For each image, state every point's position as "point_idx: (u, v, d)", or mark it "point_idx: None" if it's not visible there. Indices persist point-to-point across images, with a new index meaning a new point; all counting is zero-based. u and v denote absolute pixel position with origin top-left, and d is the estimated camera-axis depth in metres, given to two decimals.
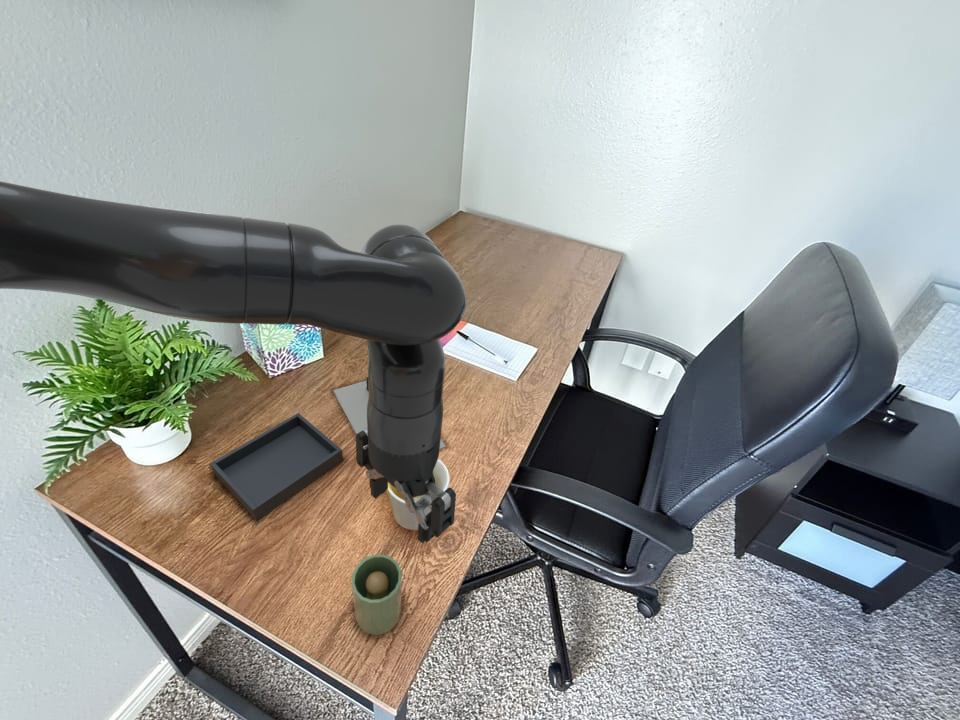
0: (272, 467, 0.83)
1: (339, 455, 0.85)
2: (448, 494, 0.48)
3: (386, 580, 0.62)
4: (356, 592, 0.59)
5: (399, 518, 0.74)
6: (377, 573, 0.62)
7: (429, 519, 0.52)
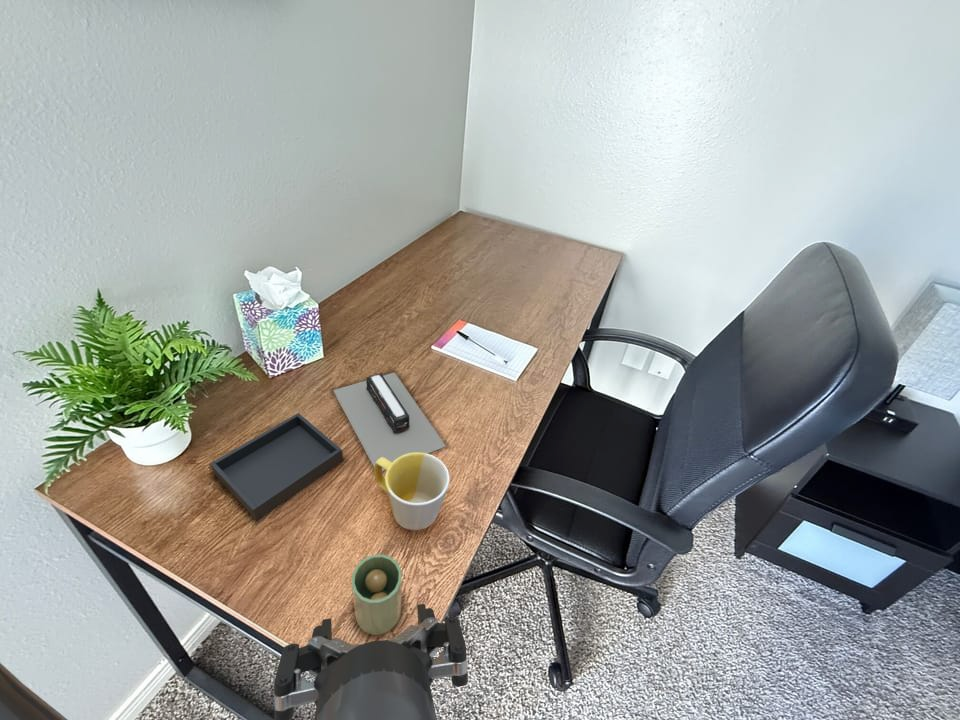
0: (272, 467, 0.83)
1: (339, 455, 0.85)
2: (278, 710, 0.32)
3: (383, 571, 0.65)
4: (356, 592, 0.59)
5: (399, 518, 0.74)
6: None
7: (311, 653, 0.37)
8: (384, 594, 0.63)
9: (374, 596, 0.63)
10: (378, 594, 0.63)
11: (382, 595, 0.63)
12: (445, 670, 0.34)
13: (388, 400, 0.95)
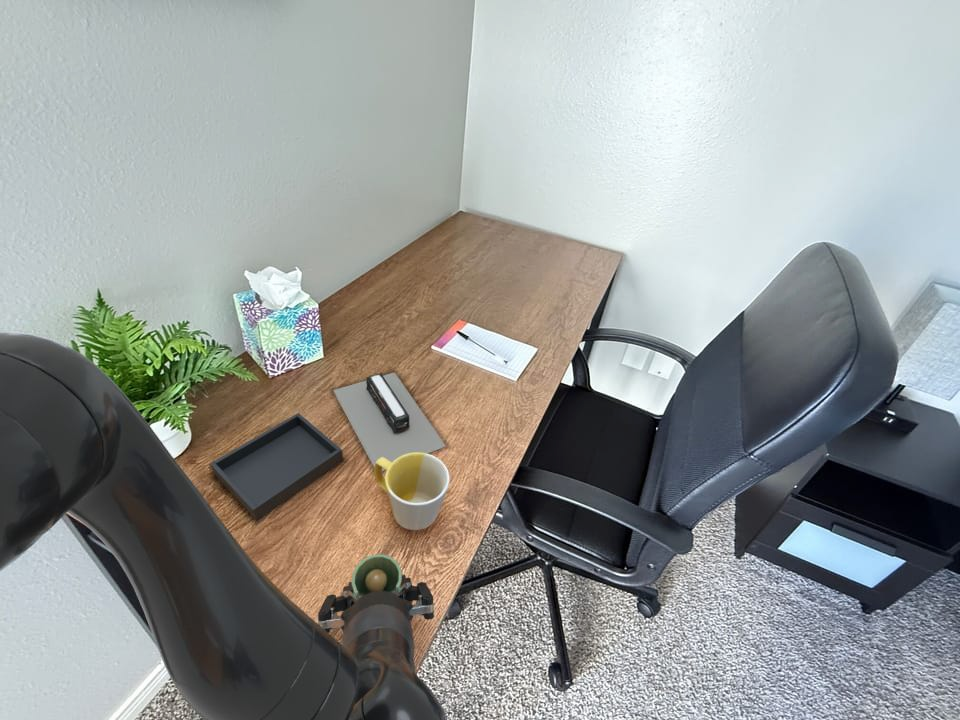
0: (272, 467, 0.83)
1: (339, 455, 0.85)
2: None
3: (383, 571, 0.65)
4: None
5: (399, 518, 0.74)
6: None
7: (343, 600, 0.60)
8: None
9: None
10: None
11: None
12: (420, 610, 0.57)
13: (388, 400, 0.95)
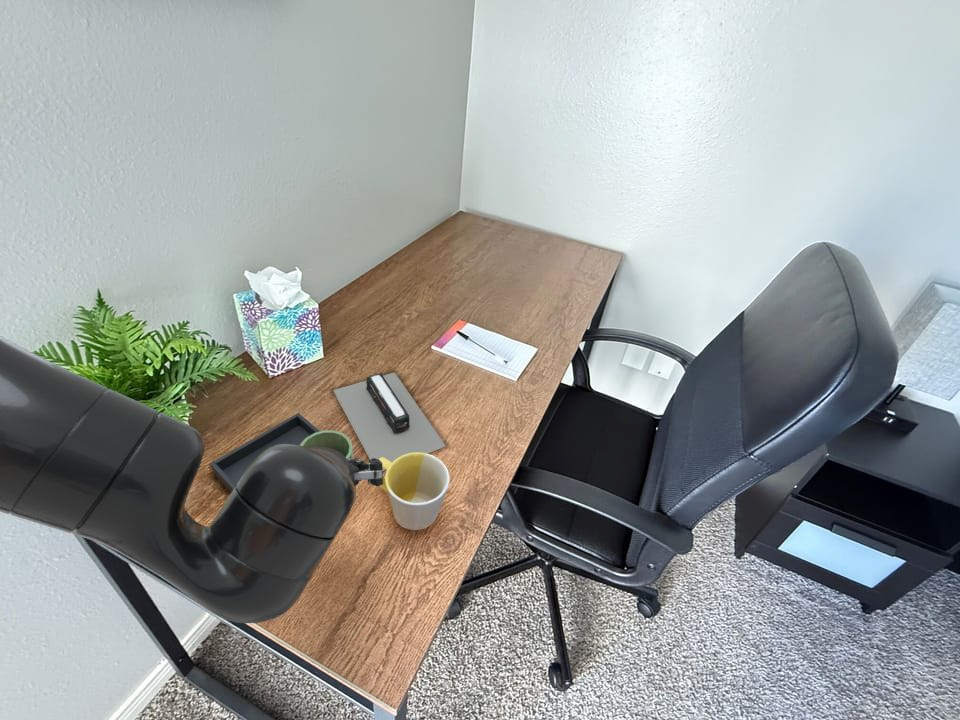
0: None
1: None
2: None
3: None
4: None
5: (399, 518, 0.74)
6: None
7: None
8: None
9: None
10: None
11: None
12: (367, 475, 0.53)
13: (388, 400, 0.95)
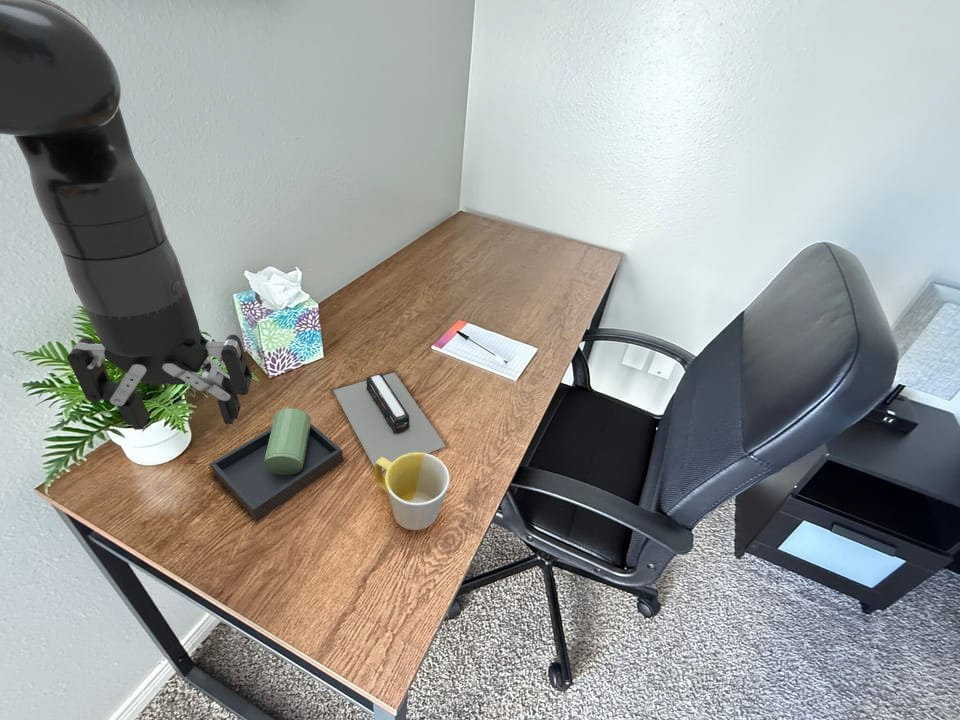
0: None
1: (339, 455, 0.85)
2: (73, 349, 0.42)
3: None
4: (281, 410, 0.85)
5: (399, 518, 0.74)
6: None
7: (118, 384, 0.46)
8: None
9: None
10: None
11: None
12: (217, 344, 0.45)
13: (388, 400, 0.95)
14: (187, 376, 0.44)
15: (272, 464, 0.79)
